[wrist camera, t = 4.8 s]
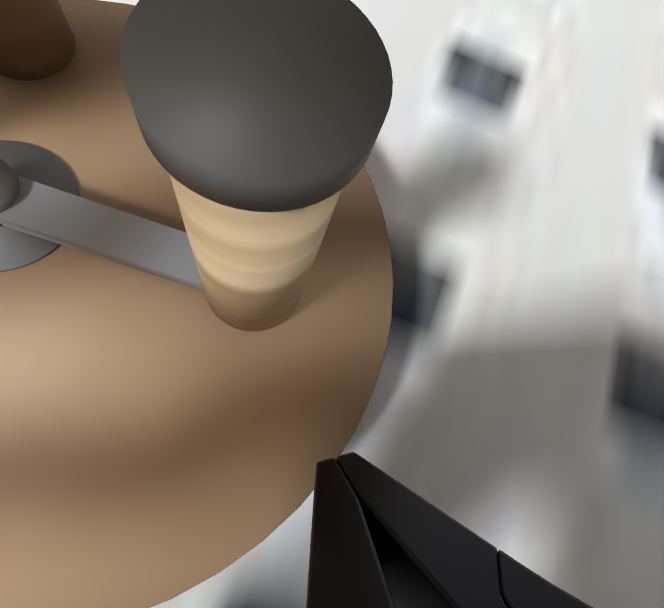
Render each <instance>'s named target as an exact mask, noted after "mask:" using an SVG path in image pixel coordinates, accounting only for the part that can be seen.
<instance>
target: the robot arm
mask: <svg viewBox="0 0 664 608" xmlns="http://www.w3.org/2000/svg"><path fill="white" fill-rule="evenodd" d="M306 608H593V607H591V606H589V605H587V604H586V603H584V602H582V601H581V600H579V599H577V598H575V597H574V596H572V595H570V594H569V593H567V592H565V591H564V590H562V589H560V588H558V587H557V586H555V585H553V584H552V583H550V582H548V581H547V580H545V579H544V578H542V577H541V576H539V575H537V574H536V573H534V572H533V571H531V570H530V569H528V568H527V567H525V566H523V565H522V564H520V563H519V562H517V561H516V560H514V559H513V558H511V557H510V556H508V555H507V554H505V553H504V552H503V551H501V550H499V551H498V552H497V549H496V548H495V547H494V546H493V545H491V544H490V543H488V542H487V541H485V540H484V539H482V538H481V537H479V536H478V535H476V534H475V533H473V532H472V531H470V530H469V529H467V528H466V527H464V526H463V525H461V524H460V523H459V522H457V521H456V520H454V519H453V518H451V517H450V516H448V515H447V514H445V513H444V512H442V511H441V510H439V509H438V508H436V507H435V506H433V505H432V504H430V503H429V502H427V501H426V500H425V499H423V498H422V497H420V496H419V495H417V494H416V493H414V492H413V491H411V490H410V489H408V488H407V487H405V486H404V485H402V484H401V483H399V482H398V481H396V480H395V479H393V478H392V477H390V476H389V475H388V474H386V473H385V472H383V471H382V470H380V469H379V468H377V467H376V466H374V465H373V464H371V463H370V462H368V461H367V460H365V459H364V458H362V457H361V456H359V455H358V454H356V453H354V452H352V453H348V454H344V455H340V456H338V457H337V458H336V459H335V458H329V459H326V460H322V461H319V462H317V464H316V472H315V486H314V501H313V515H312V530H311V544H310V558H309V573H308V587H307V602H306Z"/></svg>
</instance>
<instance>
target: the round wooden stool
mask: <svg viewBox="0 0 664 608" xmlns="http://www.w3.org/2000/svg"><path fill="white" fill-rule="evenodd" d="M134 7H135V6H134V5H129V4H123V3H115V2H107V1H99V0H0V159H2V160H3V161H5V162H6V163H7V164H8V166H9V167H10V168H11V169H12V170H13V171H14V172H15V174H16V175H17V176H20V177H23V178H26V179H29V180H32V181H35V182H38V183H41V184H43V185H46V186H49V187H52V188H55V189H58V190H61V191H64V192H67V193H70V194H73V195H76V196H79V197H82V198H85V199H88V200H91V201H94V202H97V203H100V204H103V205H106V206H109V207H112V208H115V209H118V210H121V211H124V212H127V213H129V214H132V215H135V216H138V217H141V218H144V219H147V220H150V221H153V222H156V223H159V224H162V225H165V226H168V227H171V228H174V229H177V230H180V231H183V232H186V228H185V225H184V222H183V218H182V215H181V211H180V208H179V205H178V201H177V198H176V195H175V191H174V188H173V184H172V181H171V178H170V174H169V173H168V172H167V171H166V170H165V169H164V168H163V167H162V166H161V164H160V163H159V162H158V161H157V159H156V158H155V157H154V156H153V154H152V152H151V151H150V149H149V147H148V146H147V144H146V142H145V140H144V138H143V135H142V133H141V130H140V128H139V125H138V122H137V119H136V116H135V113H134V111H133V108H132V105H131V102H130V99H129V96H128V93H127V90H126V88H125V85H124V81H123V77H122V72H121V67H120V45H121V37H122V34H123V30H124V27H125V24H126V22H127V20H128V18H129V16H130V14H131V12H132V10H133V9H134ZM186 233H187V232H186ZM392 294H393V274H392V262H391V251H390V243H389V239H388V234H387V230H386V225H385V221H384V216H383V212H382V209H381V206H380V204H379V201H378V198H377V195H376V193H375V190H374V187H373V185H372V182H371V179H370V177H369V175H368V173H367V172H366V170H365V168H364V166H363V167H362V169H361V170H360V172H359V173H358V174H357V175H356V176H355V178H354V179H353V180H352V181H351V182H350V183H349V184H347V185H346V186H345V187H344V188H343V189H342V190H341V192H340V195H339V198H338V200H337V203H336V205H335V208H334V211H333V213H332V216H331V219H330V221H329V224H328V226H327V229H326V232H325V234H324V237H323V240H322V242H321V245H320V247H319V250H318V253H317V255H316V258H315V260H314V263H313V266H312V268H311V271H310V274H309V276H308V279H307V281H306V284H305V287H304V289H303V292H302V294H301V297H300V300H299V302H298V305H297V307H296V308H295V310H294V311H293V313H292V314H291V315H290V316H289V317H288V318H287V319H286V320H285V321H284V322H282V323H281V324H279V325H278V326H276V327H273V328H271V329H268V330H264V331H243V330H239V329H236V328H234V327H231V326H229V325H227V324H226V323H224V322H223V321H222V320H220V319H219V318H218V317H217V316H216V315H215V313H214V312H213V311H212V309H211V308H210V306H209V304H208V302H207V299H206V296H205V293H204V291H202V290H199V289H196V288H193V287H189V286H186V285H183V284H180V283H177V282H174V281H171V280H168V279H165V278H162V277H159V276H156V275H153V274H150V273H147V272H144V271H140V270H137V269H134V268H131V267H128V266H125V265H122V264H119V263H116V262H113V261H110V260H107V259H104V258H101V257H98V256H95V255H91V254H88V253H85V252H82V251H79V250H76V249H73V248H70V247H67V246H64V245H61V244H58V243H55V242H52V241H49V240H46V239H42V238H39V237H36V236H33V235H30V234H27V233H24V232H21V231H18V230H15V229H12V228H9V227H6V226H0V608H150V607H152V606H155V605H157V604H160V603H163V602H165V601H168V600H170V599H172V598H174V597H176V596H178V595H179V594H181V593H183V592H185V591H187V590H188V589H190V588H192V587H194V586H196V585H198V584H199V583H201V582H203V581H205V580H207V579H208V578H210V577H212V576H214V575H216V574H218V573H219V572H221V571H222V570H224V569H225V568H226V567H228V566H229V565H230V564H232V563H233V562H235V561H236V560H237V559H239V558H240V557H241V556H243V555H244V554H246V553H247V552H248V551H250V550H251V549H253V548H254V547H255V546H257V545H258V544H259V543H261V542H262V541H263V540H264V539H266V538H267V537H268V536H269V535H270V534H271V533H272V532H273V531H274V530H275V529H276V528H277V527H278V526H279V525H281V524H282V523H283V522H284V521H285V520H286V519H287V518H288V517H289V516H290V515H291V514H292V513H293V512H294V511H295V510H297V509H298V508H299V507H300V506H301V504H302V503H303V502H304V501H305V500H306V498H307V497H308V496H309V495H310V494H311V492H312V491H313V490H314V486H315V472H316V464H317V462H319V461H322V460H326V459H329V458H335V459H336V458H337V457H338V456H339V455H340V454H341V452H342V451H343V449H344V447H345V446H346V444H347V443H348V441H349V440H350V438H351V436H352V435H353V433H354V432H355V430H356V427H357V425H358V423H359V421H360V419H361V417H362V415H363V413H364V410H365V408H366V406H367V404H368V402H369V400H370V398H371V396H372V393H373V390H374V387H375V384H376V381H377V378H378V375H379V371H380V368H381V365H382V362H383V359H384V356H385V351H386V345H387V340H388V334H389V328H390V323H391V317H392Z"/></svg>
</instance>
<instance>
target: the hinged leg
mask: <svg viewBox="0 0 664 608" xmlns="http://www.w3.org/2000/svg"><path fill="white" fill-rule="evenodd" d="M120 67H121V72H122V77H123V81H124V85H125V88H126V90H127V93H128V96H129V99H130V102H131V105H132V108H133V111H134V113H135V116H136V119H137V122H138V125H139V128H140V130H141V133H142V135H143V138H144V140H145V142H146V144H147V146H148V147H149V149H150V151H151V152H152V154H153V156H154V157H155V158H156V159H157V161H158V162H159V163H160V164H161V166H162V167H163V168H164V169H165V170H166V171H167V172H168V173H169V174H170V178H171V181H172V184H173V188H174V191H175V195H176V198H177V201H178V205H179V208H180V211H181V215H182V218H183V222H184V225H185V228H186V232H187V233H186V232H183V231H180V230H177V229H174V228H171V227H168V226H165V225H162V224H159V223H156V222H153V221H150V220H147V219H144V218H141V217H138V216H135V215H132V214H129V213H127V212H124V211H121V210H118V209H115V208H112V207H109V206H106V205H103V204H100V203H97V202H94V201H91V200H88V199H85V198H82V197H79V196H76V195H73V194H70V193H67V192H64V191H61V190H58V189H55V188H52V187H49V186H46V185H43V184H41V183H38V182H35V181H32V180H29V179H26V178H23V177H20V176H17V175H16V174H15V172H14V171H13V170H12V169H11V168H10V167H9V166H8V164H7V163H6V162H5V161H3V160H2V159H0V226H6V227H9V228H12V229H15V230H18V231H21V232H24V233H27V234H30V235H33V236H36V237H39V238H42V239H46V240H49V241H52V242H55V243H58V244H61V245H64V246H67V247H70V248H73V249H76V250H79V251H82V252H85V253H88V254H91V255H95V256H98V257H101V258H104V259H107V260H110V261H113V262H116V263H119V264H122V265H125V266H128V267H131V268H134V269H137V270H140V271H144V272H147V273H150V274H153V275H156V276H159V277H162V278H165V279H168V280H171V281H174V282H177V283H180V284H183V285H186V286H189V287H193V288H196V289H199V290H202V291H204V293H205V296H206V299H207V302H208V304H209V306H210V308H211V309H212V311H213V312H214V313H215V315H216V316H217V317H218V318H219V319H220V320H222V321H223V322H224V323H226V324H227V325H229V326H231V327H234V328H236V329H239V330H243V331H264V330H268V329H271V328H273V327H276V326H278V325H279V324H281V323H282V322H284V321H285V320H286V319H287V318H288V317H289V316H290V315H291V314H292V313H293V311H294V310H295V308H296V307H297V305H298V302H299V300H300V297H301V294H302V292H303V289H304V287H305V284H306V281H307V279H308V276H309V274H310V271H311V268H312V266H313V263H314V260H315V258H316V255H317V253H318V250H319V247H320V245H321V242H322V240H323V237H324V234H325V232H326V229H327V226H328V224H329V221H330V219H331V216H332V213H333V211H334V208H335V205H336V203H337V200H338V198H339V195H340V192H341V190H342V189H343V188H344V187H345V186H346V185H347V184H349V183H350V182H351V181H352V180H353V179H354V178H355V176H356V175H357V174H358V173H359V172H360V170H361V169H362V167H363V166H364V164H365V162H366V161H367V159H368V157H369V155H370V152H371V150H372V148H373V146H374V143H375V141H376V139H377V136H378V134H379V132H380V129H381V127H382V125H383V123H384V120H385V118H386V115H387V112H388V110H389V107H390V102H391V97H392V84H393V80H392V70H391V65H390V61H389V57H388V54H387V51H386V49H385V46H384V44H383V41H382V40H381V38H380V36H379V34H378V33H377V31H376V29H375V28H374V26H373V25H372V24H371V22H370V21H369V20H368V18H367V17H366V16H365V15H364V14H363V13H362V11H361V10H360V9H359V8H358V7H357V6H356V5H355V4H354V3H352V2H351V1H350V0H139V2H138V3H137V5H136V6H135V7H134V9H133V10H132V12H131V14H130V16H129V18H128V20H127V22H126V24H125V27H124V30H123V34H122V37H121V45H120Z"/></svg>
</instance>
